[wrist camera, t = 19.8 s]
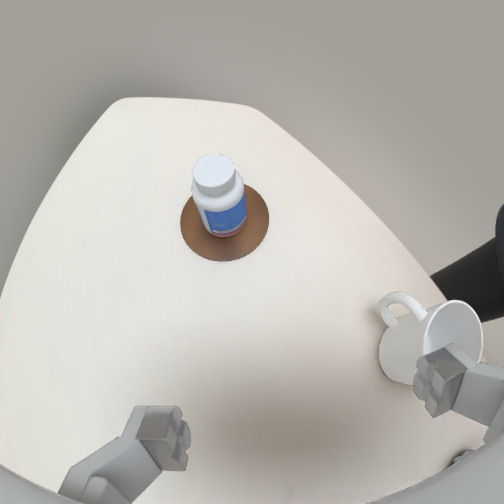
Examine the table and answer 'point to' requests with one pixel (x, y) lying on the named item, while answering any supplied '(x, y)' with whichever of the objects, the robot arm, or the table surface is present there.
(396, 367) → the cup
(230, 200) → the pill bottle
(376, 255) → the table surface
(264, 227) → the coaster
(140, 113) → the table surface
